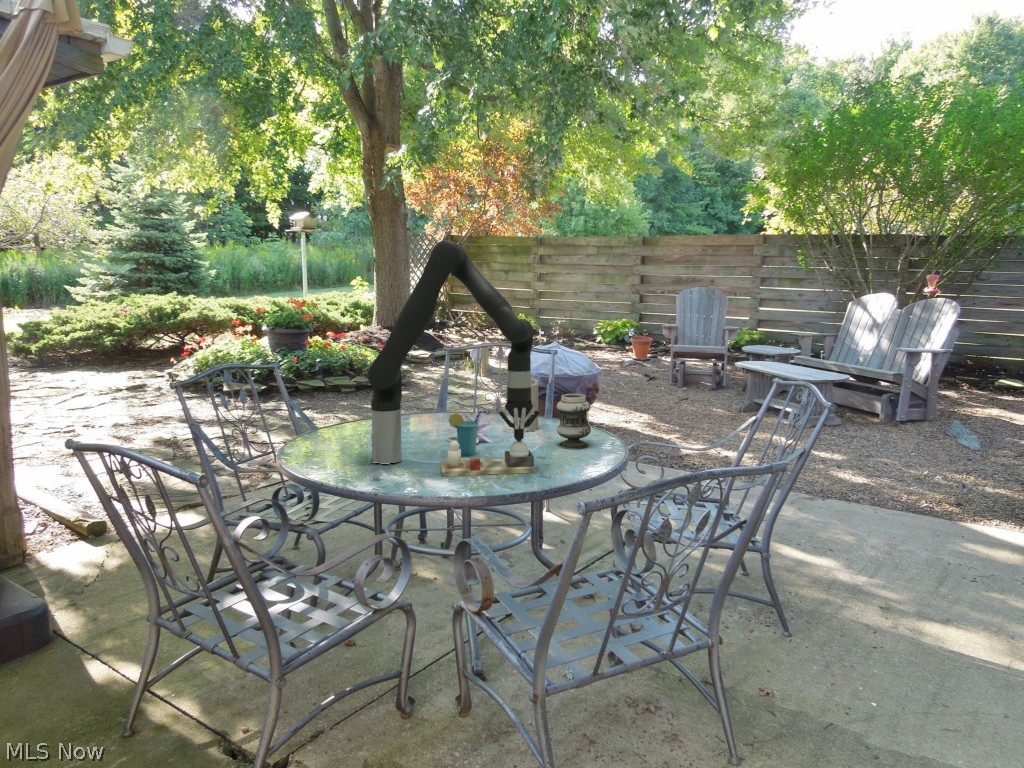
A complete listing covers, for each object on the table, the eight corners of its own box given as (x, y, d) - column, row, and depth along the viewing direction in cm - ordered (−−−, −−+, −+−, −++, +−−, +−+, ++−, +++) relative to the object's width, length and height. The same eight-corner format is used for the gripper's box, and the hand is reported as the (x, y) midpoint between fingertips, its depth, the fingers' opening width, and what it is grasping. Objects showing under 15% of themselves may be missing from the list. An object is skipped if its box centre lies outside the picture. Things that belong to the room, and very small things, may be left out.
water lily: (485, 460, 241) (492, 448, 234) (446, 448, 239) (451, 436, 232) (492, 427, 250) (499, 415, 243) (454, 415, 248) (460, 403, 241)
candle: (501, 429, 259) (500, 378, 256) (534, 427, 263) (534, 377, 260) (506, 433, 253) (506, 381, 249) (540, 431, 257) (541, 379, 253)
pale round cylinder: (510, 462, 203) (510, 443, 202) (508, 457, 209) (508, 439, 208) (530, 461, 204) (530, 443, 203) (527, 456, 209) (527, 438, 208)
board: (442, 476, 198) (441, 461, 197) (441, 465, 209) (440, 451, 209) (534, 473, 201) (534, 458, 200) (528, 462, 213) (528, 448, 212)
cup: (489, 450, 228) (488, 407, 225) (492, 456, 220) (491, 412, 218) (448, 452, 226) (447, 408, 223) (450, 458, 218) (449, 413, 216)
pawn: (448, 467, 202) (447, 442, 200) (447, 463, 205) (447, 439, 204) (461, 467, 202) (461, 442, 201) (460, 463, 206) (460, 439, 205)
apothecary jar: (561, 440, 242) (561, 391, 239) (593, 442, 238) (594, 393, 235) (552, 448, 231) (552, 397, 228) (586, 450, 227) (587, 399, 224)
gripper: (498, 387, 198) (498, 444, 201) (542, 386, 200) (542, 442, 202) (496, 383, 205) (496, 438, 208) (538, 382, 207) (537, 436, 210)
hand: (518, 440), depth 205 cm, fingers closed
